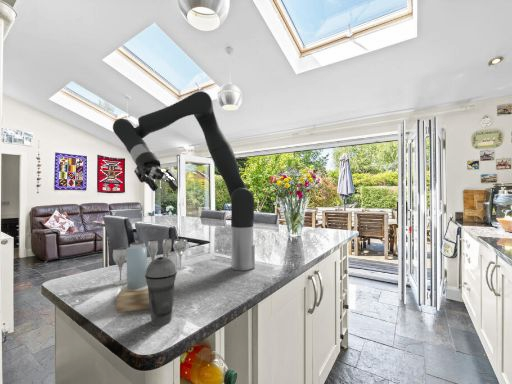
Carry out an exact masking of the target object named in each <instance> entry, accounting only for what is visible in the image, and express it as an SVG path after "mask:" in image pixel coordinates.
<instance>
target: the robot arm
mask: <svg viewBox="0 0 512 384" xmlns="http://www.w3.org/2000/svg"><path fill="white" fill-rule="evenodd" d="M192 115H193V116H194V118H195V119H196V121H197V123H198V125H199V127H200V128H201V130H202V133H203V136H204V139H205V143H206V146H207V148H208V151H209V154H210V157H211V159H212V161H213V164H214V165H215V167H216V169H217V171H218V172H219V174H220V176H221V178H222V180H223V181H224V184H225V186H226V189H227V192H228V194H229V198H230V202H231V205H230V206H231V208H230V209H231V210H230V211H231V212H230V213H231V214H230V215H231V218H230V220H231V221H230V230H231V231H230V232H231V233H230V234H231V235H230V237H231V238H230V240H231V241H230V243H231V246H230V248H231V249H230V251H231V253H230V254H231V257H230V258H231V262H230V263H231V269H232V270H234V271H235V270H236V271H248V270H252V269H255V268H256V267H255V266H256V265H255V264H256V261H255V260H256V259H255V258H256V256H255V255H256V254H255V253H256V252H255V251H256V249H255V247H256V246H255V244H254V218H255V199H254V194H253V193H252V191H251V190H249V189H248V188H247V185H246V184H245V181H243V179H242V176H241V174H240V170H239V165H238V162H237V159H236V155H235V152H234V150H233V147H232V146H231V143H230V141H229V139H228V138H227V136H226V135H225V133H224V132H223V130H222V128H221V127H220V125H219V122H218V119H217V117H216V114H215V110H214V105H213V99H212V97H211V95H210V94H209V93H207V92H206V91H202V90H201V91H200V90H199V91H195V92H193V93H191V94H190V95H188V96H187V97H184V98H182V99H180V100H179V101H177V102H175V103H172V104H170V105H168V106H165V107H164V108H160V109H158V110H155V111H153V112H150V113H147V114H145V115H141V116H140V117H138V118H137V121H138V122H137V123H138V125H137V126H136V127H134V125H133V124H132V122H130V120H128V119H127V118H118V119H116V120H115V121H114V122H113V123H112V131H113V132H114V134H115V135H116V136H117V138H118V139H119V140H120V141H121V142H122V144H123V145H124V147H125V148H126V150H127V152H128V153H129V155H130V157H131V159H132V161H133V163H134V164H135V165H136V168H134V171H133V172H134V173H135V175H136V178H137V179H138V181H139V182H140V183H145V184H147V186H148V187H149V188H150V190H152V191H153V192H156V191H157V190H158V188H159V186H158V184H157V183H156V182H155V180H159V181H161V182H163V183H167V185H168V186H169V188H171V191H172V192H176V191H177V190H178V188H179V186H178V184H176V180H177V179H178V178H177V176H176V175H175V174H174V173H173V172H172V170H171V169H170V168H167V169H164V168H162V166H161V161H160V159H159V158H158V157H157V156H156V154H155V153H154V152H153V150H152V149H151V148H150V147H149V146H148V144H147V142H145V140H144V138H145V137H147V136H148V135H149V134H153V133H155V132H157V131H161V130H163V129H165V128H167V127H169V126H170V125H173V124H174V123H175V122H177V121H179V120H180V119H183V118H185V117H188V116H192ZM163 177H164V178H163Z"/></svg>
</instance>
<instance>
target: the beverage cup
mask: <svg viewBox="0 0 512 384" xmlns="http://www.w3.org/2000/svg"><path fill="white" fill-rule="evenodd" d="M164 239H165V244H164V250H163V254H162V256H160V257H157V258H156V257H155V259H154V260H153V261H152V260H151V261H150V263H149V264H148V265H147V270H146V275H145V277H146V282H147V285H148V294H149V304H150V309H149V313H150V314H149V315H150V319H151V325H153V326H157V327H161V326H165V325H167V324H170V323H171V322H172V314H173V305H174V292H175V283H176V278H177V275H178V274H177V270H176V268H177V267H176V265H175V263H174V261H173V260H172V259H170V258H169V257H168V258H166V255H165V254H166V245H167V239H168V238H164Z"/></svg>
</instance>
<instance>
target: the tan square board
mask: <svg viewBox="0 0 512 384" xmlns="http://www.w3.org/2000/svg"><path fill="white" fill-rule="evenodd" d="M115 303H116V304H115V305H116V313H121V312H122V313H123V312H131V311H141V310H147V309H149V310H150V304H149V294H148V285H146V286H144V287H142V288H137V289H129V288H127V282H126V283H124V285H123V286H122V287H121V289H120V291H119V292H118V294H117V295H116V301H115Z"/></svg>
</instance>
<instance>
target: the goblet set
mask: <svg viewBox="0 0 512 384" xmlns="http://www.w3.org/2000/svg"><path fill="white" fill-rule="evenodd" d="M165 239H167V245H166V254H165V257H166V258H169V256H170V253H171V251H172V248H173V250H174V251H175V253H177V255H178V256H179V262H180V265H179V267H176V271H184V270H187V267H185V266H182V257H183V255H184V253H185V252H186V251H187V249H188V247H189V244H188V239H186V238H178V239H177V238H176V239H174V241H173V242H172V239H171V238H163V241H162V250H163V251H164V244H165ZM133 246H146V245H145V242H143V241H137V242H135V241H134V242H131V243H130V244H129V247H133ZM126 248H127V247H116V248H113V250H112V260H113V261H114V263H115V264H116V265H117V267H118V270H119V280H117V281H114V282H113V284H114V285H115V286H116V285H118V286H119V285H123V284H124V285H125V284H126V282H127V279H122V272H123V271H122V270H123V266H124V264H126V263H127V258H126ZM158 249H159V243H158V240H157V239H150V240H148V242H147V253H148V254H149V256H150V259H151V262H152V261H153V260H154V259H156V256H157V253H158V251H159V250H158Z"/></svg>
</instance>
